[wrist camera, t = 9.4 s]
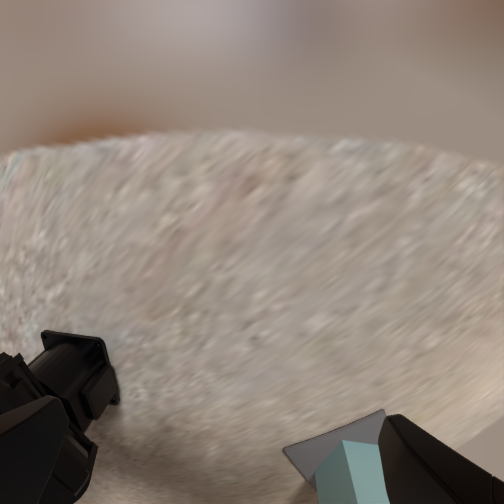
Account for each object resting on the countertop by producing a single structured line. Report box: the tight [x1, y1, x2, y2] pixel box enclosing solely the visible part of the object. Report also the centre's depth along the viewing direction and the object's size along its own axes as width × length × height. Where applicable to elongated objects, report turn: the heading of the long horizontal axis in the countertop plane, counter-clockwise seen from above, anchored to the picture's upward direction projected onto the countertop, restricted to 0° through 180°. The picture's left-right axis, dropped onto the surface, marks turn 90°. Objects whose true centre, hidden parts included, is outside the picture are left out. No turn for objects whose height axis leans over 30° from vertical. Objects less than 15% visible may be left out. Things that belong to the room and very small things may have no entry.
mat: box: [284, 409, 386, 491], centre depth 23 cm, size 9×9×1 cm
